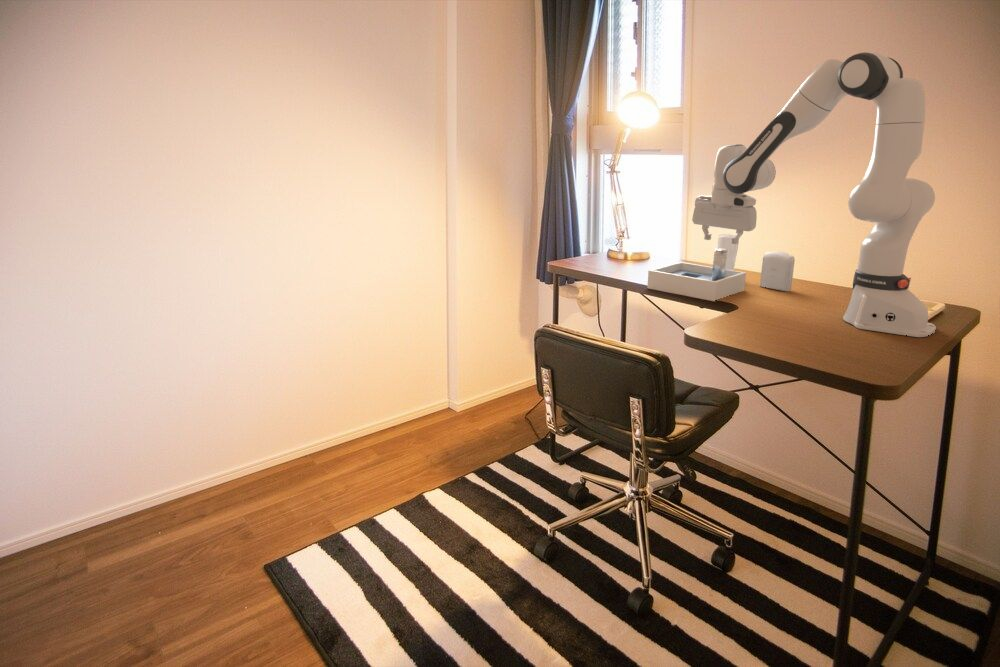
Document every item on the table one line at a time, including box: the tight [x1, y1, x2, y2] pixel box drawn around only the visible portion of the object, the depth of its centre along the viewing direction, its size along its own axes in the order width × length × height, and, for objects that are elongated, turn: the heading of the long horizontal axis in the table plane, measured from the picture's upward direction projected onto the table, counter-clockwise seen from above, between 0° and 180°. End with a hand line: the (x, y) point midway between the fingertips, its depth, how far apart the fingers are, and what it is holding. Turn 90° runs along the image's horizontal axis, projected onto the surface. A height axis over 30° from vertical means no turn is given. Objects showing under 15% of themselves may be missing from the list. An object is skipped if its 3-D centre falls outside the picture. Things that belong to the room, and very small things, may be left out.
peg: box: [712, 248, 728, 281], centre depth 229 cm, size 4×4×10 cm
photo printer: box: [759, 250, 796, 292], centre depth 234 cm, size 10×4×12 cm, turn 39°
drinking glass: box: [717, 233, 739, 271], centre depth 247 cm, size 7×7×15 cm
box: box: [646, 261, 747, 302], centre depth 233 cm, size 24×20×6 cm
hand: (721, 241), depth 227 cm, fingers open, 8 cm apart
